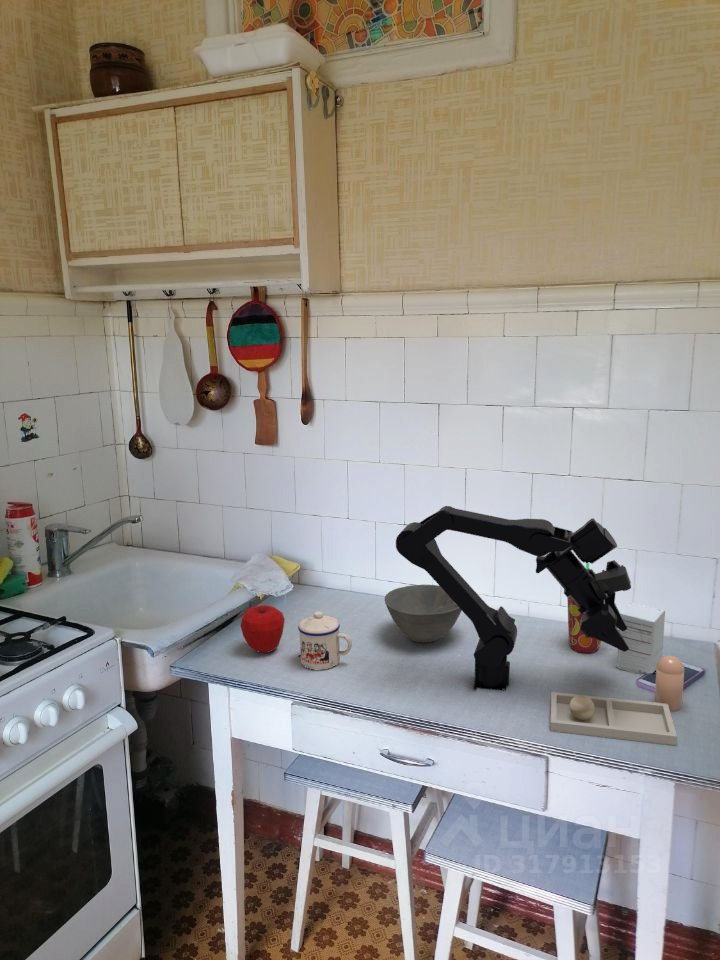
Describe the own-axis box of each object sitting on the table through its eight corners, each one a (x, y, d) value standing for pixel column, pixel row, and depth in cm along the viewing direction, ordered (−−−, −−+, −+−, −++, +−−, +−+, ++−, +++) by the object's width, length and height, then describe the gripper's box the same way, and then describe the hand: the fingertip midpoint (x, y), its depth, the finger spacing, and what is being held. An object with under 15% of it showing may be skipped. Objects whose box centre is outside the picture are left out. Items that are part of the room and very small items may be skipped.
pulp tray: (550, 733, 130) (550, 722, 129) (550, 702, 140) (551, 691, 139) (676, 748, 124) (677, 736, 124) (667, 715, 134) (667, 703, 134)
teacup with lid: (293, 668, 157) (290, 618, 154) (309, 650, 165) (307, 602, 163) (345, 675, 153) (343, 624, 150) (359, 657, 161) (357, 608, 159)
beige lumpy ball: (569, 723, 132) (570, 701, 131) (568, 710, 136) (569, 689, 135) (594, 725, 131) (595, 703, 130) (593, 713, 135) (594, 691, 134)
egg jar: (655, 712, 136) (659, 661, 133) (652, 699, 140) (655, 650, 138) (683, 715, 134) (687, 663, 132) (679, 702, 139) (682, 652, 137)
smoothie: (581, 636, 168) (585, 555, 164) (611, 649, 161) (615, 564, 157) (557, 645, 164) (559, 562, 159) (586, 659, 157) (590, 572, 153)
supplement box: (627, 655, 158) (631, 601, 156) (662, 665, 154) (666, 609, 151) (615, 668, 153) (618, 612, 150) (651, 678, 148) (655, 621, 145)
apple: (235, 656, 163) (232, 611, 161) (254, 639, 172) (251, 596, 170) (275, 662, 160) (272, 616, 158) (292, 643, 169) (290, 600, 166)
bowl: (478, 649, 163) (478, 607, 161) (398, 660, 159) (397, 618, 157) (448, 617, 181) (448, 579, 179) (376, 627, 177) (375, 588, 175)
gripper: (608, 569, 126) (666, 638, 125) (607, 538, 143) (658, 598, 143) (557, 603, 130) (613, 670, 130) (562, 569, 147) (611, 628, 147)
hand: (626, 639), depth 137 cm, fingers open, 9 cm apart
